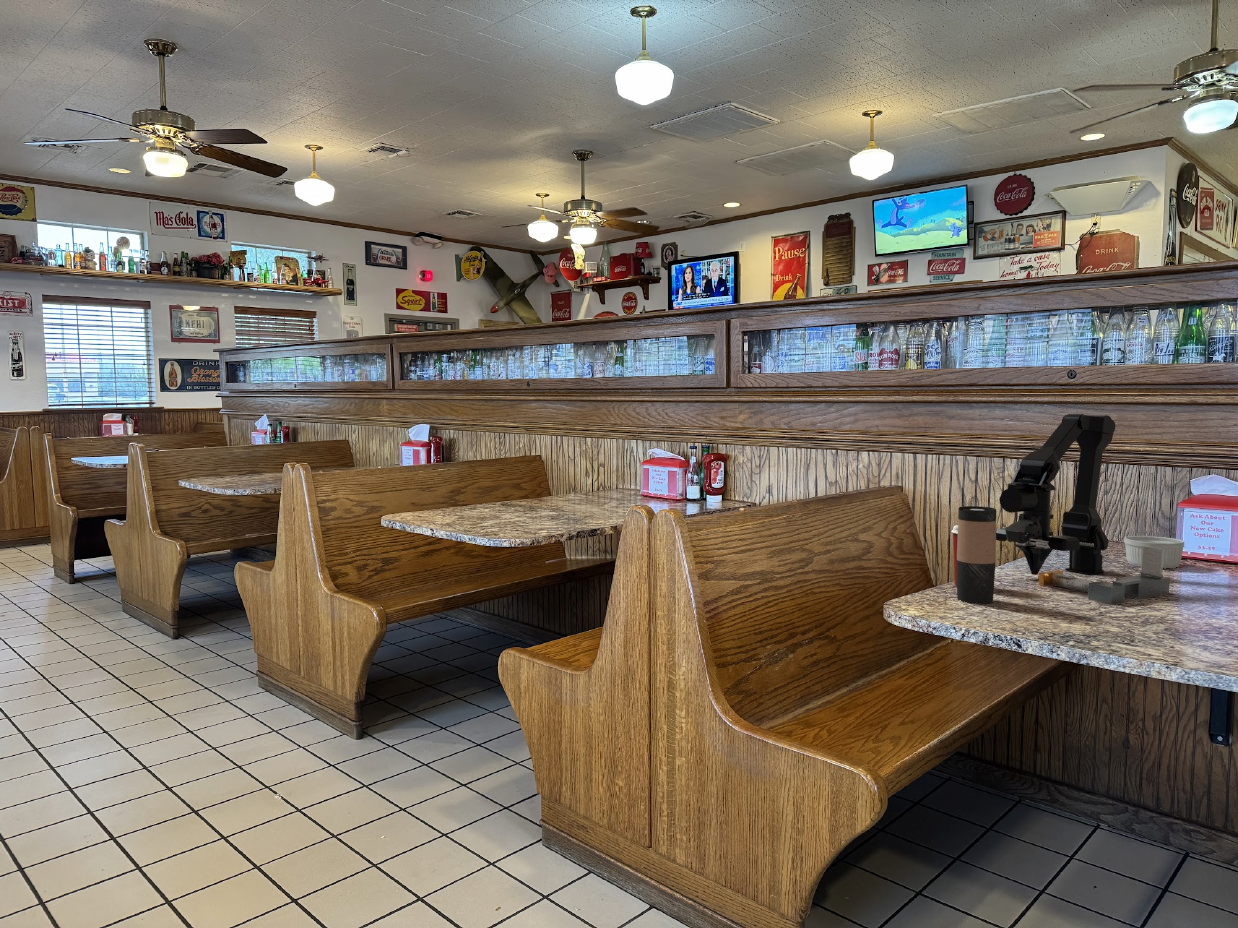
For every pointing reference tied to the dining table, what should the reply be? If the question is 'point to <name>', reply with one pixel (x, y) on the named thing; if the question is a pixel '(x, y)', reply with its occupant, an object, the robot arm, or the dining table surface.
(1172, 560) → the ramekin
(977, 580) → the travel mug
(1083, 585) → the pin
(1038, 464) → the robot arm
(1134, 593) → the hitch bar
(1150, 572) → the keeper flap
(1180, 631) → the dining table surface
